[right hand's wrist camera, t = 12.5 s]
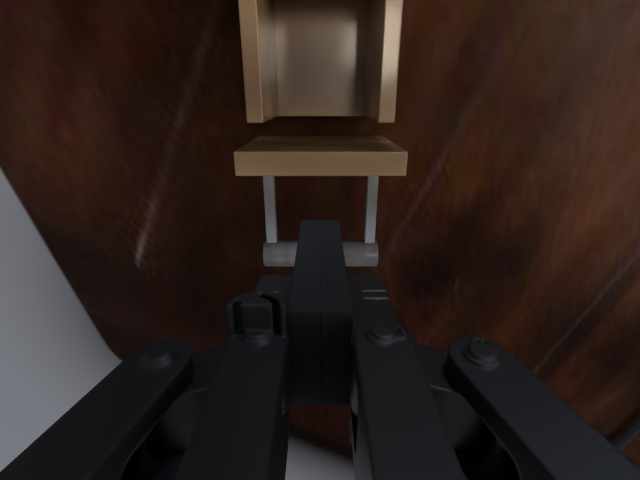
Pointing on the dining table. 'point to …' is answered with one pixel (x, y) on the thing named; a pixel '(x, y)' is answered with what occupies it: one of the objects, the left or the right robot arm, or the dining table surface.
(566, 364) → the dining table surface
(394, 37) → the drawer
